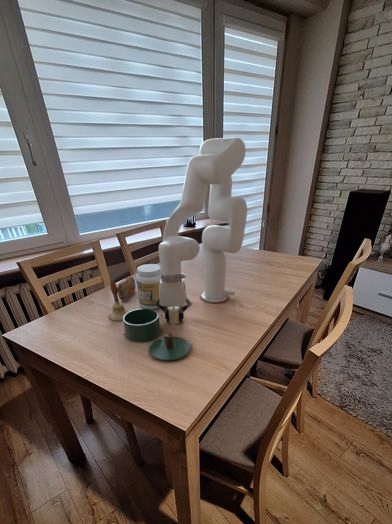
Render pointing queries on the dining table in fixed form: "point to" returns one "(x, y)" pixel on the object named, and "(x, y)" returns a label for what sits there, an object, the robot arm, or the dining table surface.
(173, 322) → the candle
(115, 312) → the hand bell
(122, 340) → the dining table surface
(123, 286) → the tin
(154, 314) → the candle tin
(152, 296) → the supplement tub
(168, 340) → the tin lid
